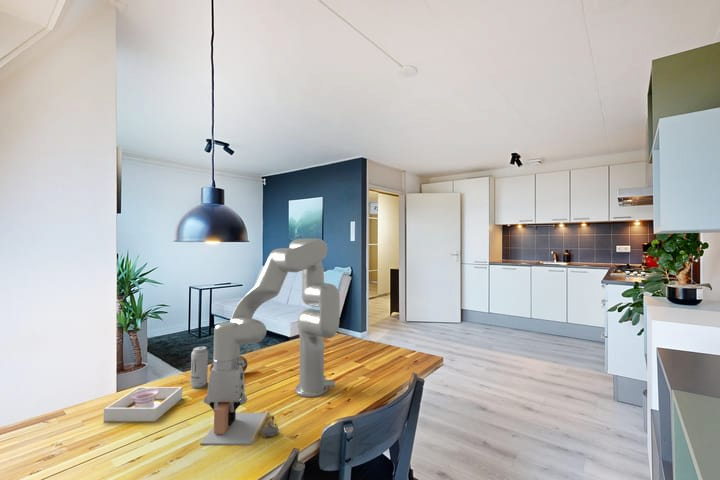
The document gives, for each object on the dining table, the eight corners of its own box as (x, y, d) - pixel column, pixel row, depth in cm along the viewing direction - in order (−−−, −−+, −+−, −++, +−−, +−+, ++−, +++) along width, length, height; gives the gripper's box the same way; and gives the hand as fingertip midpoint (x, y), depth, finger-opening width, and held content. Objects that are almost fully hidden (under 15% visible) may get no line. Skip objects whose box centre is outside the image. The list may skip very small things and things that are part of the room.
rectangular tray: (182, 398, 119) (182, 387, 119) (154, 421, 102) (155, 408, 103) (137, 398, 118) (138, 387, 118) (103, 421, 102) (103, 408, 102)
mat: (268, 414, 107) (268, 410, 108) (252, 444, 90) (252, 440, 91) (224, 414, 107) (224, 410, 107) (200, 444, 90) (200, 440, 90)
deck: (235, 417, 103) (235, 395, 104) (224, 433, 94) (224, 409, 95) (226, 417, 103) (226, 395, 104) (213, 433, 94) (214, 409, 95)
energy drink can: (187, 387, 128) (188, 349, 129) (200, 381, 134) (201, 345, 134) (196, 390, 125) (197, 351, 126) (210, 384, 131) (211, 347, 131)
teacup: (171, 409, 110) (171, 391, 111) (131, 424, 101) (131, 404, 101) (154, 400, 117) (155, 383, 117) (115, 413, 107) (116, 395, 107)
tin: (210, 381, 134) (210, 360, 135) (209, 378, 137) (209, 358, 137) (247, 374, 142) (247, 354, 143) (245, 371, 145) (246, 353, 145)
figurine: (261, 440, 92) (264, 418, 93) (259, 433, 96) (262, 412, 97) (279, 439, 94) (282, 417, 95) (277, 432, 98) (280, 411, 99)
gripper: (256, 359, 103) (255, 417, 103) (205, 359, 103) (204, 417, 103) (248, 367, 96) (247, 430, 95) (193, 367, 96) (192, 430, 95)
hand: (225, 422), depth 99 cm, fingers closed on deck, 3 cm apart
